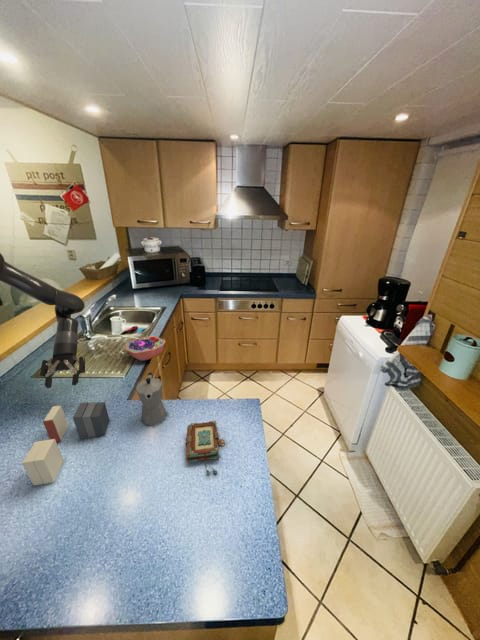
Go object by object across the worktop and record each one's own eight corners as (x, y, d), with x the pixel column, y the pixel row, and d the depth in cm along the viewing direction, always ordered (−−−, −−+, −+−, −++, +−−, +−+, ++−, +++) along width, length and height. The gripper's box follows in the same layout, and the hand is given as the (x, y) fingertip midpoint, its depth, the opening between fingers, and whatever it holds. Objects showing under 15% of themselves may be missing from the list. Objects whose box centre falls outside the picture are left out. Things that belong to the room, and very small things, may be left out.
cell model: (166, 363, 131) (164, 344, 126) (125, 368, 126) (121, 348, 121) (167, 347, 146) (164, 329, 141) (130, 350, 141) (126, 333, 136)
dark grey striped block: (79, 439, 88) (72, 417, 84) (86, 423, 94) (80, 403, 90) (104, 435, 89) (98, 414, 85) (109, 420, 96) (104, 400, 91)
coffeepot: (167, 426, 93) (161, 388, 86) (140, 432, 91) (132, 393, 83) (166, 398, 107) (161, 363, 99) (143, 402, 104) (136, 367, 97)
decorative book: (185, 478, 76) (183, 467, 74) (187, 431, 92) (186, 421, 89) (228, 472, 78) (228, 461, 76) (223, 427, 94) (223, 417, 91)
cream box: (33, 485, 73) (21, 462, 69) (45, 463, 79) (35, 441, 75) (53, 482, 74) (43, 459, 70) (63, 460, 80) (54, 438, 76)
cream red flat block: (51, 443, 86) (42, 421, 82) (60, 427, 92) (52, 406, 88) (60, 442, 87) (51, 420, 82) (68, 425, 93) (61, 405, 89)
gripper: (39, 343, 93) (33, 387, 88) (81, 340, 96) (78, 383, 90) (50, 348, 100) (45, 389, 95) (89, 345, 103) (86, 385, 97)
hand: (61, 386), depth 92 cm, fingers open, 8 cm apart
